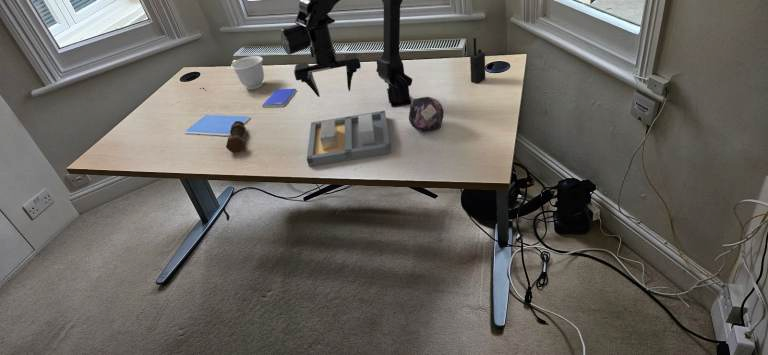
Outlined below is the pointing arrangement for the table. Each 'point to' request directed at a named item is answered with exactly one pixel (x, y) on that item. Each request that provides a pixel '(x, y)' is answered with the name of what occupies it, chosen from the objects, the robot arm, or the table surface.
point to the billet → (328, 134)
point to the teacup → (249, 71)
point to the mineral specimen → (426, 114)
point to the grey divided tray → (351, 139)
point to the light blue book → (215, 125)
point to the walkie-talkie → (477, 65)
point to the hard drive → (279, 98)
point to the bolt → (236, 138)
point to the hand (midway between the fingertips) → (334, 93)
